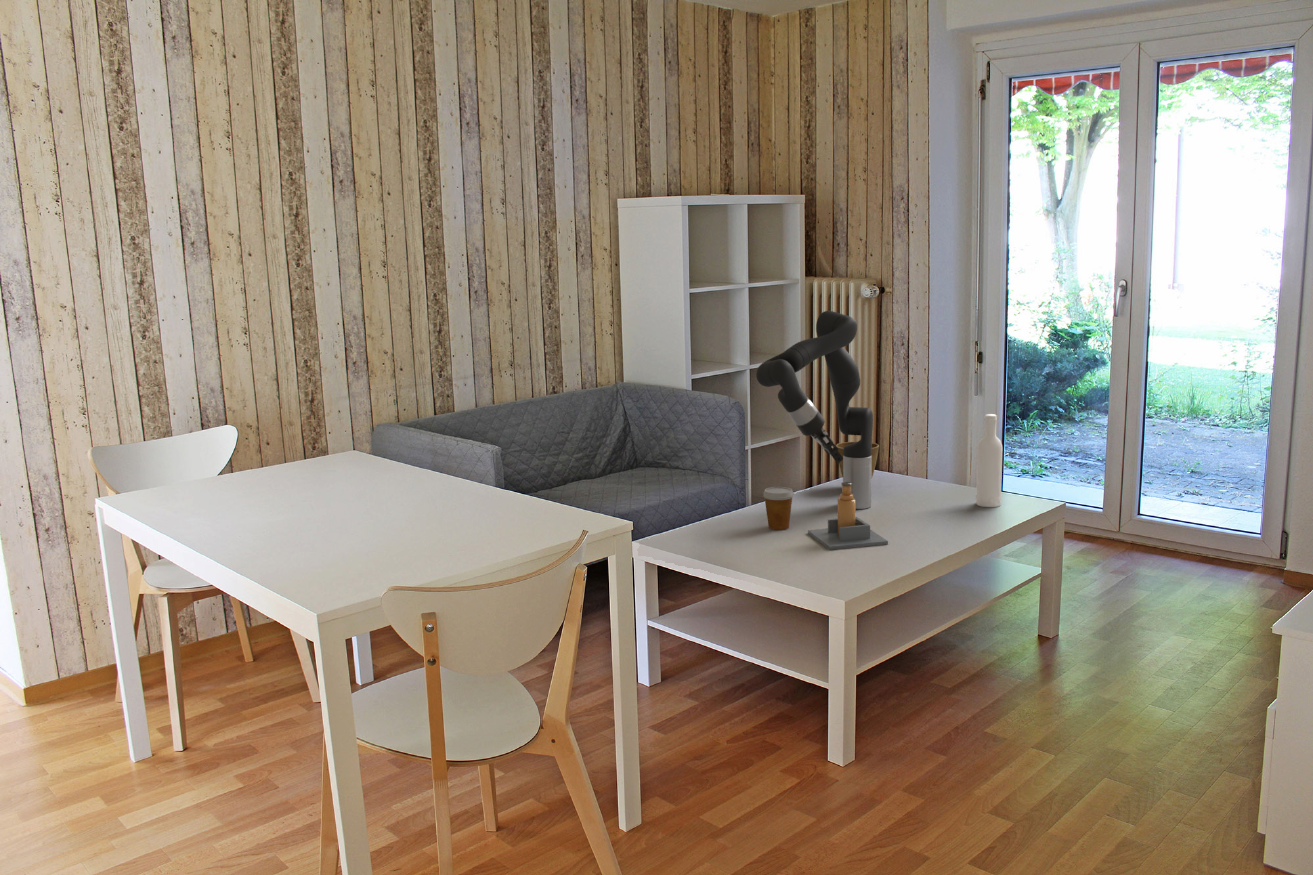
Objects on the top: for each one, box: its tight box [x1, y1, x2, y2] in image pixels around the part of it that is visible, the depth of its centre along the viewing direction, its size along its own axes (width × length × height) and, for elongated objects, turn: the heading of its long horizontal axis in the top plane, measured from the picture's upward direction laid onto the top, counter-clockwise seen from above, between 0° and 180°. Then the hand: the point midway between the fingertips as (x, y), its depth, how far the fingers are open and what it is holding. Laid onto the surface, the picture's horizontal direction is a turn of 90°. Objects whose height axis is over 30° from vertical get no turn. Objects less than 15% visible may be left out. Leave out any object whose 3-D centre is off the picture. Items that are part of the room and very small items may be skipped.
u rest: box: [807, 516, 889, 551], centre depth 304 cm, size 18×18×5 cm
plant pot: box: [835, 441, 880, 478], centre depth 362 cm, size 15×15×16 cm
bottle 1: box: [837, 481, 857, 536], centre depth 302 cm, size 5×5×16 cm
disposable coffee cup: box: [762, 486, 795, 531], centre depth 317 cm, size 10×10×12 cm
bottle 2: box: [975, 413, 1004, 508], centre depth 334 cm, size 8×8×30 cm
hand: (835, 456), depth 299 cm, fingers open, 8 cm apart
